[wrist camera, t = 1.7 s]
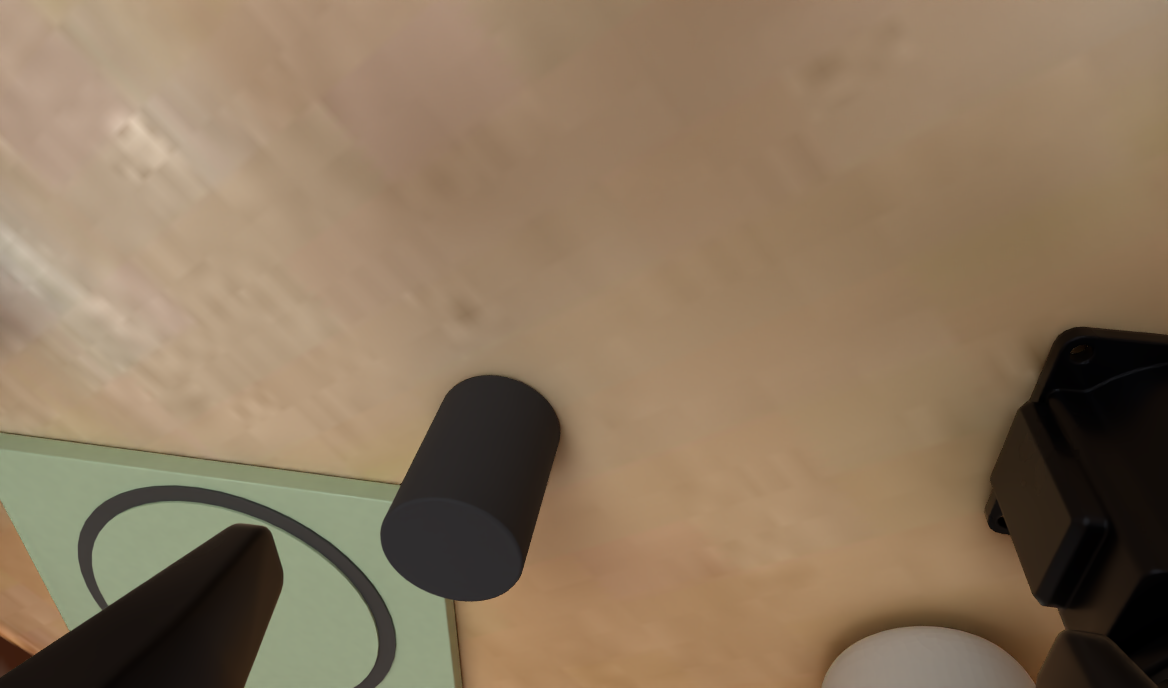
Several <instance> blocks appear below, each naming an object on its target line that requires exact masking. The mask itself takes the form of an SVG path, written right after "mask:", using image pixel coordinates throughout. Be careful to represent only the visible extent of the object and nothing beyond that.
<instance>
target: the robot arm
mask: <svg viewBox="0 0 1168 688" xmlns="http://www.w3.org/2000/svg"><path fill="white" fill-rule="evenodd" d="M1079 345H1088V346H1087V347H1086V348H1085V350H1083V351H1081V352H1079V353H1073V354H1072V353H1070V352H1071V351H1072V350H1073V349H1074V348H1075V347H1077V346H1079ZM990 482H991V485H992V487H993V490H992V492H991V495H990V497H989V499H988V502H987V504H986V507H985V512H984V514H985V517H986V519H987V522H988V525H989V527H990V528H991V529H992V530H993V531H995V532H997V533H1001V534H1008V535H1011V538H1012V541H1013V543H1014V546H1015V549H1016V552H1017V554H1018V557H1019V560H1020V562H1021V565H1022V568H1023V570H1024V573H1025V576H1026V578H1027V581H1028V584H1029V586H1030V589H1031V592H1032V594H1033V596H1034V597H1035V598H1036V599H1037V600H1038V602H1039V603H1040V604H1041V605H1042V606H1047V607H1054V608H1057V609H1058V611H1059V614H1060V616H1061V619H1062V621H1063V624H1064V626H1065V629H1066V630H1064V631H1062V632H1060V633H1059V634H1058V636H1057V637H1056V639H1055V641H1054V643H1053V645H1052V647H1051V649H1050V651H1049V653H1048V655H1047V657H1046V659H1045V661H1044V663H1043V665H1042V667H1041V669H1040V671H1039V673H1038V676H1037V680H1036V688H1168V335H1163V334H1152V333H1142V332H1132V331H1121V330H1111V329H1101V328H1090V327H1074V328H1071V329H1069V330H1066V331H1064V332H1063V333H1062V334H1060V335H1059V336H1058V337H1057V338H1056V340H1055V341H1054V343H1053V346H1052V348H1051V350H1050V353H1049V355H1048V358H1047V360H1046V362H1045V365H1044V367H1043V370H1042V372H1041V374H1040V377H1039V379H1038V382H1037V384H1036V386H1035V389H1034V391H1033V394H1032V396H1031V398H1030V401H1029V402H1026V403H1025V404H1024V405H1023V406H1021V407H1020V408H1019V409H1018V411H1017V413H1016V416H1015V418H1014V421H1013V423H1012V426H1011V428H1010V431H1009V433H1008V435H1007V438H1006V440H1005V443H1004V445H1003V448H1002V450H1001V453H1000V455H999V457H998V460H997V462H996V465H995V467H994V470H993V472H992V475H991V477H990ZM1001 516H1003V517H1001ZM283 581H284V573H283V568H282V564H281V561H280V558H279V555H278V551H277V548H276V545H275V542H274V538H273V535H272V533H271V531H270V530H269V529H268V528H267V527H265V526H260V525H253V524H245V523H236V524H233V525H231V526H229V527H227V528H225V529H224V530H222V531H221V532H219V533H218V534H216V535H215V536H213V537H212V538H210V539H209V540H207V541H206V542H204V543H203V544H201V545H200V546H198V547H197V548H195V549H194V550H192V551H191V552H189V553H188V554H186V555H185V556H183V557H182V558H180V559H179V560H177V561H176V562H174V563H173V564H171V565H170V566H168V567H167V568H165V569H164V570H162V571H161V572H159V573H157V574H156V575H154V576H153V577H151V578H150V579H148V580H147V581H145V582H144V583H142V584H141V585H139V586H138V587H136V588H135V589H133V590H132V591H130V592H129V593H127V594H126V595H124V596H123V597H121V598H120V599H118V600H117V601H115V602H114V603H112V604H111V605H109V606H108V607H106V608H105V609H103V610H102V611H100V612H99V613H97V614H96V615H94V616H93V617H91V618H90V619H88V620H87V621H85V622H83V623H82V624H80V625H79V626H77V627H76V628H74V629H73V630H71V631H70V632H68V633H67V634H65V635H64V636H62V637H61V638H59V639H58V640H56V641H55V642H53V643H52V644H50V645H49V646H47V647H46V648H44V649H43V650H41V651H40V652H38V653H37V654H35V655H34V656H32V657H31V658H30V659H28V660H26V661H25V662H23V663H22V664H20V665H19V666H17V667H16V668H14V669H13V670H11V671H9V672H8V673H7V674H5V675H3V676H2V677H1V678H0V688H244V687H245V685H246V682H247V679H248V677H249V674H250V672H251V669H252V666H253V664H254V661H255V659H256V656H257V653H258V651H259V648H260V646H261V643H262V640H263V638H264V635H265V633H266V630H267V627H268V625H269V622H270V620H271V617H272V614H273V612H274V609H275V607H276V604H277V601H278V599H279V596H280V594H281V591H282V587H283Z"/></svg>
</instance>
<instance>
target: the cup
mask: <svg viewBox="0 0 1168 688" xmlns="http://www.w3.org/2000/svg"><path fill="white" fill-rule="evenodd" d="M821 688H1036V685H1035V683H1034V682H1033V680H1032V679H1031V677H1030V676H1029V674H1028V673H1027V672H1026V671H1025V669H1024V668H1023V667H1022V666H1021V665H1020V664H1019V663H1018V662H1017V661H1016V660H1015V659H1014V658H1013V657H1012V656H1011V655H1010V654H1008V653H1007V652H1006V651H1005V650H1003V649H1002V648H1000V647H999V646H997V645H995V644H994V643H992V642H990V641H988V640H986V639H984V638H981V637H979V636H977V635H974V634H970V633H967V632H964V631H961V630H956V629H950V628H944V627H935V626H912V627H900V628H895V629H890V630H886V631H882V632H879V633H876V634H873V635H870V636H867V637H865V638H863V639H861V640H859V641H857V642H855V643H854V644H852V645H851V646H849V647H848V648H847V649H845V650H844V651H843V652H842V653H841V654H840V655H839V656H838V657H837V658H836V659H835V660H834V662H833V663H832V664H831V666H830V668H829V669H828V671H827V673H826V675H825V678H824V680H823V683H822V687H821Z"/></svg>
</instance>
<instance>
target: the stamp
mask: <svg viewBox="0 0 1168 688" xmlns="http://www.w3.org/2000/svg"><path fill="white" fill-rule="evenodd" d="M559 440H560V427H559V422H558V419H557V417H556V414H555V412H554V410H553V409H552V407H551V406H550V404H549V403H548V402H547V400H546V399H545V398H544V397H543V396H542V395H541V394H539V393H538V392H537V391H536V390H534V389H533V388H531V387H530V386H528V385H526V384H524V383H522V382H519V381H517V380H514V379H511V378H507V377H502V376H493V375H487V376H478V377H473V378H470V379H467V380H465V381H463V382H461V383H459V384H457V385H456V386H454V387H453V388H452V389H451V390H450V391H449V392H448V393H447V395H446V396H445V398H444V400H443V402H442V404H441V406H440V408H439V410H438V412H437V414H436V416H435V418H434V420H433V422H432V424H431V426H430V428H429V430H428V432H427V434H426V436H425V438H424V440H423V442H422V444H421V446H420V448H419V450H418V452H417V454H416V456H415V458H414V460H413V462H412V464H411V466H410V468H409V470H408V472H407V474H406V476H405V478H404V480H403V482H402V484H401V486H400V488H399V490H398V492H397V494H396V496H395V498H394V500H393V502H392V504H391V506H390V508H389V510H388V512H387V514H386V516H385V518H384V520H383V522H382V525H381V531H380V540H381V546H382V549H383V552H384V554H385V556H386V558H387V560H388V561H389V563H390V564H391V565H392V567H393V568H394V569H395V570H396V571H397V572H398V573H399V574H400V575H401V576H402V577H403V578H405V579H406V580H407V581H409V582H410V583H411V584H413V585H415V586H416V587H418V588H420V589H422V590H424V591H426V592H428V593H430V594H433V595H436V596H439V597H442V598H446V599H451V600H457V601H482V600H488V599H491V598H495V597H497V596H499V595H502V594H503V593H505V592H507V591H508V590H509V589H510V588H511V587H513V586H514V585H515V583H516V582H517V581H518V580H519V578H520V576H521V574H522V571H523V567H524V563H525V560H526V556H527V553H528V549H529V546H530V542H531V539H532V535H533V532H534V528H535V525H536V521H537V518H538V514H539V511H540V507H541V504H542V500H543V497H544V493H545V489H546V486H547V482H548V479H549V475H550V472H551V468H552V465H553V461H554V458H555V454H556V451H557V447H558V444H559Z"/></svg>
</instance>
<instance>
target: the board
mask: <svg viewBox="0 0 1168 688" xmlns="http://www.w3.org/2000/svg"><path fill="white" fill-rule="evenodd" d="M400 486H401V485H394V484H387V483H379V482H371V481H364V480H356V479H349V478H341V477H333V476H326V475H318V474H311V473H303V472H295V471H288V470H280V469H273V468H265V467H257V466H250V465H242V464H235V463H227V462H219V461H212V460H204V459H197V458H189V457H181V456H174V455H166V454H159V453H151V452H143V451H136V450H128V449H121V448H113V447H105V446H98V445H90V444H83V443H75V442H67V441H60V440H52V439H45V438H37V437H29V436H22V435H14V434H7V433H0V500H1V502H2V504H3V506H4V508H5V510H6V512H7V513H8V515H9V517H10V519H11V521H12V523H13V525H14V527H15V529H16V530H17V532H18V534H19V536H20V538H21V540H22V542H23V544H24V546H25V548H26V549H27V551H28V553H29V555H30V557H31V559H32V561H33V563H34V565H35V566H36V568H37V570H38V572H39V574H40V576H41V578H42V580H43V582H44V583H45V585H46V587H47V589H48V591H49V593H50V595H51V597H52V599H53V600H54V602H55V604H56V606H57V608H58V610H59V612H60V614H61V616H62V618H63V619H64V621H65V623H66V625H67V627H68V629H69V631H71V630H73V629H74V628H76V627H77V626H79V625H80V624H82V623H83V622H85V621H87V620H88V619H90V618H91V617H93V616H94V615H96V614H97V613H99V612H100V611H102V610H103V609H105V608H106V607H108V606H109V605H111V604H112V603H114V602H115V601H117V600H118V599H120V598H121V597H123V596H124V595H126V594H127V593H129V592H130V591H132V590H133V589H135V588H136V587H138V586H139V585H141V584H142V583H144V582H145V581H147V580H148V579H150V578H151V577H153V576H154V575H156V574H157V573H159V572H161V571H162V570H164V569H165V568H167V567H168V566H170V565H171V564H173V563H174V562H176V561H177V560H179V559H180V558H182V557H183V556H185V555H186V554H188V553H189V552H191V551H192V550H194V549H195V548H197V547H198V546H200V545H201V544H203V543H204V542H206V541H207V540H209V539H210V538H212V537H213V536H215V535H216V534H218V533H219V532H221V531H222V530H224V529H225V528H227V527H229V526H231V525H233V524H236V523H245V524H253V525H260V526H265V527H267V528H268V529H269V530H270V531H271V533H272V535H273V538H274V542H275V545H276V548H277V551H278V555H279V558H280V561H281V564H282V568H283V573H284V581H283V587H282V591H281V594H280V596H279V599H278V601H277V604H276V607H275V609H274V612H273V614H272V617H271V620H270V622H269V625H268V627H267V630H266V633H265V635H264V638H263V640H262V643H261V646H260V648H259V651H258V653H257V656H256V659H255V661H254V664H253V666H252V669H251V672H250V674H249V677H248V679H247V682H246V685H245V687H244V688H463V687H462V678H461V668H460V659H459V650H458V640H457V631H456V621H455V612H454V602H453V600H451V599H446V598H442V597H439V596H436V595H433V594H430V593H428V592H426V591H424V590H422V589H420V588H418V587H416V586H415V585H413V584H411V583H410V582H409V581H407V580H406V579H405V578H403V577H402V576H401V575H400V574H399V573H398V572H397V571H396V570H395V569H394V568H393V567H392V565H391V564H390V563H389V561H388V560H387V558H386V556H385V554H384V552H383V549H382V546H381V540H380V531H381V525H382V522H383V520H384V518H385V516H386V514H387V512H388V510H389V508H390V506H391V504H392V502H393V500H394V498H395V496H396V494H397V492H398V490H399V488H400Z"/></svg>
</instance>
